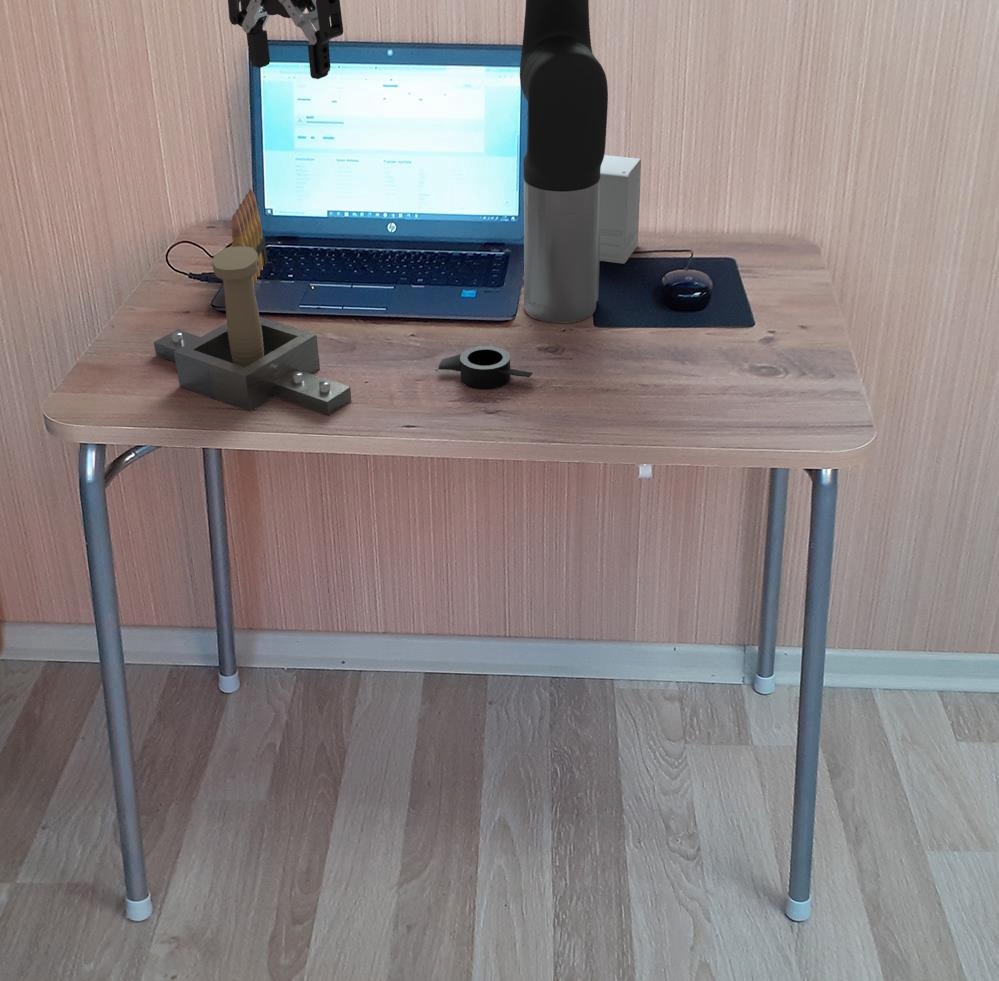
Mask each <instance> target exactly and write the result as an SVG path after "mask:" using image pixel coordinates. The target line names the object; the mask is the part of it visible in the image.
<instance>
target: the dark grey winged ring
mask: <svg viewBox="0 0 999 981" xmlns="http://www.w3.org/2000/svg"><path fill="white" fill-rule="evenodd" d="M437 369H438V370H444V371H445V370H448V371H456V372H460V382H461V383H462V384H463V385H464V386H465V387H468V388H470V389H474V390H479V391H480V390H481V391H488V390H496V389H500V388H502V387H505V386H506V385H508V384H509V383H510V380H511V376H516V377H522V378H523V377H524V378H530V377H531V376H532V375H533V373H534V372H532V371H526V370H519V369H514V368H511V355H510V353H509V352H508V351H507V350H505V349H504V348H501V347H497V346H493V345H492V346H491V345H480V346H474V347H471V348H468V349H466V350H464V351H463V352H462V353H459V354H456V355H453V356H450V357H446V358H443V359H441V360H440V362H439V365H438V368H437Z"/></svg>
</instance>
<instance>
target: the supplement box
mask: <svg viewBox="0 0 999 981" xmlns="http://www.w3.org/2000/svg"><path fill="white" fill-rule="evenodd" d="M641 168H642V159H641V158H639V157H638V158H637V157H626V156H618V155H609V154H608V155H607V154H604V158H603V161H602V164H601V169H600V192H599V229H598V231H599V232H600V261H599V262H608V263H614V264H621V265H622V264H623V265H624V264H625V263H626V262H627V261H628V260H629V258H630V257H631V255H632V254H633V253H634V251H635V250H636V249H637V247H638V245H639V229H640V228H639V225H640V224H639V222H640V202H641V201H640V198H641V197H640V195H641V174H642V172H641V170H642V169H641Z"/></svg>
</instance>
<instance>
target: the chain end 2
mask: <svg viewBox="0 0 999 981" xmlns="http://www.w3.org/2000/svg"><path fill="white" fill-rule="evenodd" d="M279 323H280V324H279V325H277V326H275V327H273V328H272V330H273V338H274V346H275V350H274V351H272V352H270V353H269V354H267V355H265V356H264V357H262V358H260V359H258V360H257V361H255V362H253V363H252V364H250V365H248V366H246V367H242V366H239V365H236V364H233V363H230V362H227V361H224V360H222V359H219V358H218V359H217V360H215V361H213V362H211V363H210V364H209V367H210V373H211V380H212V386H213V393H214V400H217V401H219V402H222V403H225V404H227V405H230V406H233V407H236V408H238V407H239V409H241V408H242V409H241V410H244V409H245V410H244V411H247V410H248V411H247V412H249V411H250V412H249V413H251V412H253V411H254V410H256V409H257V408H259V407H261V406H262V405H264V404H266V403H267V402H269V401H270V400H272V399H274V398H276V399H280V400H282V401H285V402H288V403H291V404H294V405H297V406H300V407H301V408H304V409H308V410H311V411H314V412H316V413H319V414H321V415H325V416H328V417H329V416H330V415H333V414H334V413H335V412H337V411H339V410H340V409H341V408H343V407H344V406H345V405H348V404H349V403H351V402H352V392H351V386H348V385H346V384H343V383H339V382H336V381H335V380H334V381H333V380H330V379H328V378H325V377H322V376H320V375H316V374H315V372H317V371H319V370H320V369H321V366H320V355H319V347H318V345H319V344H318V336H317V335H318V334H316V333H313V332H309V331H307V330H304V329H300V328H297V327H295V326H294V327H293V326H290V325H288V324H285V323H282V322H279ZM255 408H256V409H255ZM252 410H253V411H252Z"/></svg>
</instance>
